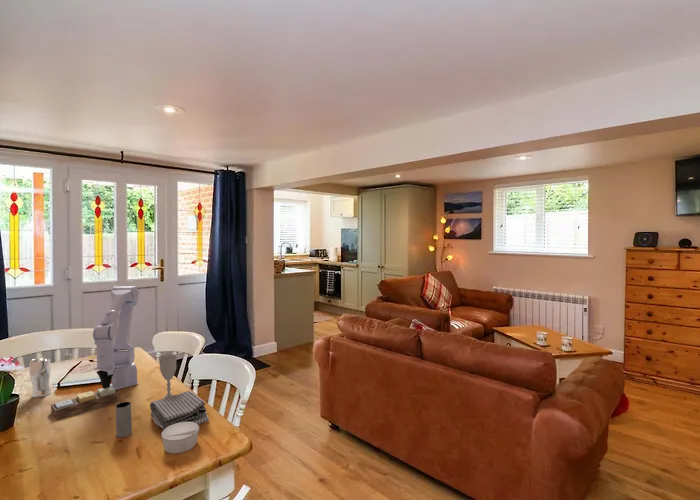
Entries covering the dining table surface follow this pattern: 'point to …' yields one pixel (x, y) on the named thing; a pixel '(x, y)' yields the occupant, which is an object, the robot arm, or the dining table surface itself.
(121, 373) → the robot arm
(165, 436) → the ramekin
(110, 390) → the one pip tile
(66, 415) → the brown tile tray
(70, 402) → the three pip tile
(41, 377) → the beer glass
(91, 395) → the two pip tile
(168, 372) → the chalice
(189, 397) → the towel
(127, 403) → the grey cylinder
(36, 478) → the dining table surface
